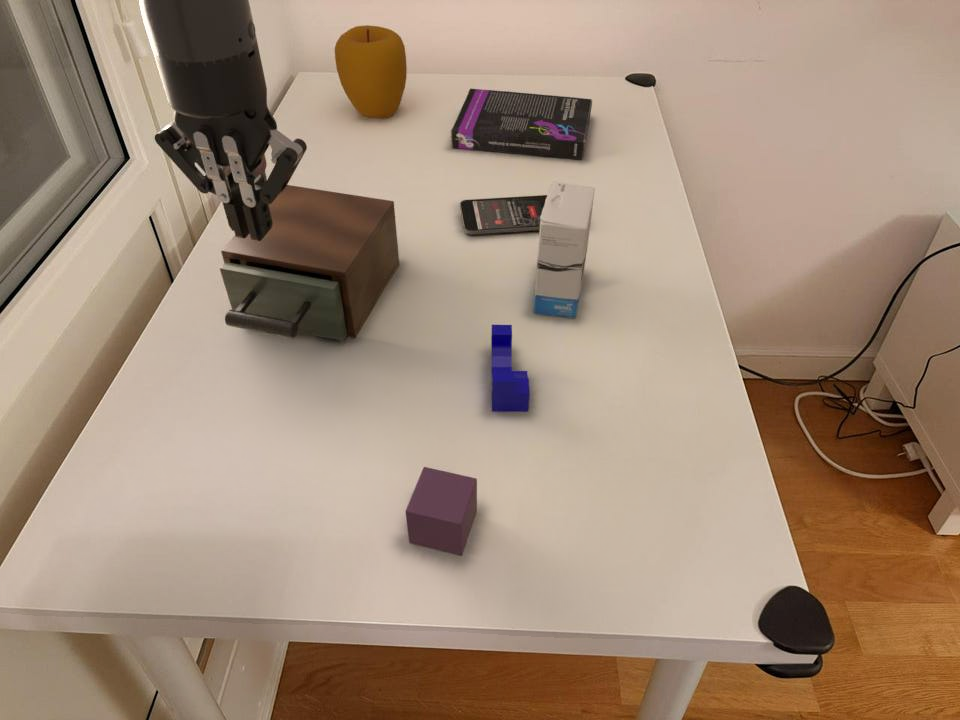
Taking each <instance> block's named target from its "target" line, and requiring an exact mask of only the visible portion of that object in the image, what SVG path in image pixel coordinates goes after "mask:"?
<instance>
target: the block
mask: <svg viewBox="0 0 960 720" xmlns="http://www.w3.org/2000/svg"><path fill="white" fill-rule="evenodd" d="M477 512H478V478H477V477H471V476H468V475H463V474H458V473H453V472H450V471H446V470H442V469H441V470H440V469H436V468H431V467H427V466H423V468H422V470H421V472H420V474H419V478H418V480H417V482H416V484H415V487H414V489H413V492H412V494H411V496H410V499H409V501H408V504H407V506H406V508H405V518H406V527H407V537H408V542H409V544H411V545H412V544H413V545H417V546H420V547H424V548H428V549H432V550H437V551H440V552H444V553H448V554H453V555H457V556H462V557H463V554H464V551H465V548H466V545H467V542H468V539H469V537H470V534H471V530H472V527H473V524H474V522H475V518H476V515H477Z"/></svg>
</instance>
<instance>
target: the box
mask: <svg viewBox="0 0 960 720" xmlns="http://www.w3.org/2000/svg"><path fill="white" fill-rule="evenodd" d="M592 106H593V99H592V98H582V97H574V96H573V97H572V96H562V95H553V94H552V95H550V94H541V93H540V94H537V93H529V92H516V91H506V90H495V89H494V90H493V89H481V88H470V89H468V93H467V95H466V98H465V100H464V102H463V104H462V106H461V108H460V111H459V113H458V115H457V118H456V120H455V122H454V124H453V126H452V128H451V130H450V139H451V140H450V141H451V142H450V143H451V148H452V149H461V150H476V151H487V152H498V153H506V154H507V153H509V154H518V155H527V156H529V155H530V156H540V157H552V158H560V159H571V160H572V159H574V160H583V159H584V155H585V148H586V141H587V135H588V130H589V123H590V120H591V119H590V118H591V114H592Z"/></svg>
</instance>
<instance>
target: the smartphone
mask: <svg viewBox="0 0 960 720" xmlns="http://www.w3.org/2000/svg"><path fill="white" fill-rule="evenodd" d="M546 198H547V194H542V195H525V196H524V195H523V196H509V197H508V196H507V197H493V198H474V199H473V198H472V199H463V200H461V201H460V203H459V208H460V213H461V219H462V225H463V230H464V233H465V234H467V235H468V236H473V235H474V236H476V235H477V236H478V235H489V234H490V235H491V234H506V233H521V232H522V233H523V232H535V231H536V232H537V231H539V232H540V222H541V219H540V216H541V214H542V210H543V208H544V205H545V200H546Z"/></svg>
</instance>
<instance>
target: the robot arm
mask: <svg viewBox="0 0 960 720" xmlns="http://www.w3.org/2000/svg"><path fill="white" fill-rule="evenodd" d="M138 3H139V9H140V13H141V16H142V20H143V25H144V28H145V31H146V34H147V37H148V40H149V44H150V48H151V50H152V53H153V57H154V60H155V62H156V67H157V70H158V74H159V77H160V80H161V83H162V86H163V90H164V93H165V96H166V99H167V103H168V105H169V106H170V107H171V108H172V109H173V110H174V112H173V121H171V122H170V123H169V124H167V125H166V126H165V127H164V128H162V129H161V130H160V131H158V132H157V133H156V134H155V135H154V141H155V143H156V144H157V145H158V146H159V147H160V148H161V150H162V151H163V152H164V154H166V155H167V156H168V158H169V159H170V160H171V161H172V162H173V163H174V164H175V165H176V167H177V168H178V169H179V170H180V171H181V172H182V173H183V175H184V176H185V177H186V178H187V179H188V180H189V181H190V182H191V184H193V186H194V187H195V188H196V189H197V190H198V191H199V192H200V193H201V194H204V195H205V194H208V193H211V194H212V195H215V196H216V198H217V199H218V200H219V202H221V203H222V206H223V209H224V213H225V216H226V220H227V224H228V227H229V228H230V230H231V231H233V233H234V236H236V237H239V238H246V237H247V236H248V235H249V234H250V237H251V239H252V240H256V241H261V240H262V239H263V238H264V237H265V235H266V234H267V233H268V231H269V230H270V229H271V228H272V224H273V222H272V218H271V214H270V209H269V205H268V204H271V203H272V202H273V201H274V200H275V199H276V197H277V196H278V195H279V194H280V193H281V192H282V191H283V190H284V189H285V188H286V186H287V185H289V183H290V181H291V179H292V177H293V175H294V173H295V171H296V170H297V168H298V166H299V164H300V163H301V160H302V159H303V157H304V155H305V153H306V151H307V149H308V146H307V143H306V141H304V140H303V139H301V138H295V139H293V140H292V139H290V138H289V137H288V136H286V135H285V134H283V133H282V132H280V131H279V130H278V124H277V121H276V119H275V117H274V116H273V115H272V113H271V111H270V109H269V107H268V88H267V87H268V86H267V82H266V77H265V72H264V68H263V62H262V58H261V54H260V49H259V44H258V38H257V34H256V26H255V23H254V19H253V15H252V10H251V4H250V0H138ZM269 147H270V148H271V154H270V155H271V158H270V159H271V163H272V164H274V166H273V168H272V170H271V172H270V173H269V176H268V178H267V174H266V169H267V166H268V165H267V163H268V162H267V159H266V152H267V151H268V148H269ZM196 164H197V165H196ZM197 166H198V167H199V168H200V169H201V170H202V172H204V173H202V172H201V171H200V170H199V168H198V167H197Z"/></svg>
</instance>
